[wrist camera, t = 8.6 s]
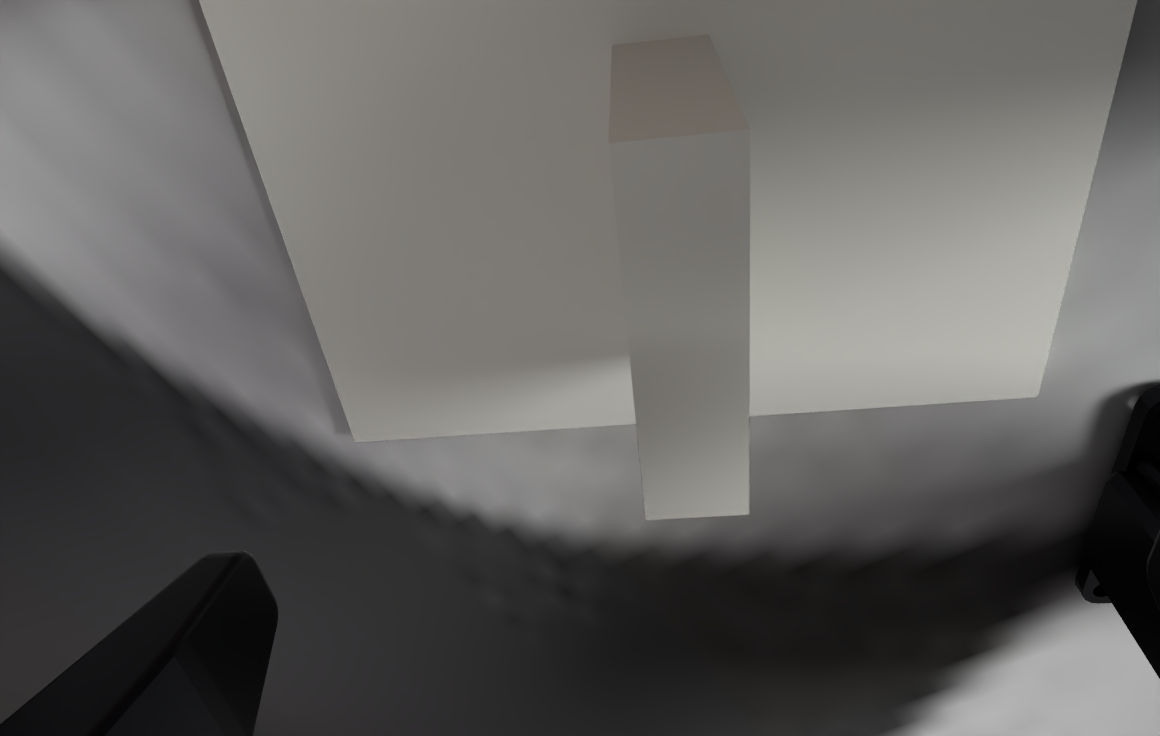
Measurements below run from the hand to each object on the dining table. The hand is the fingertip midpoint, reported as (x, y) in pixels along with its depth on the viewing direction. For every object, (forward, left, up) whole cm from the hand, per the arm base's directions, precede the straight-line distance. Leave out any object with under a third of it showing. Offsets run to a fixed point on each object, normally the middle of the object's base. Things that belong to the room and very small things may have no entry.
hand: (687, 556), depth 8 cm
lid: (0, 0, -9) cm, 9 cm away
